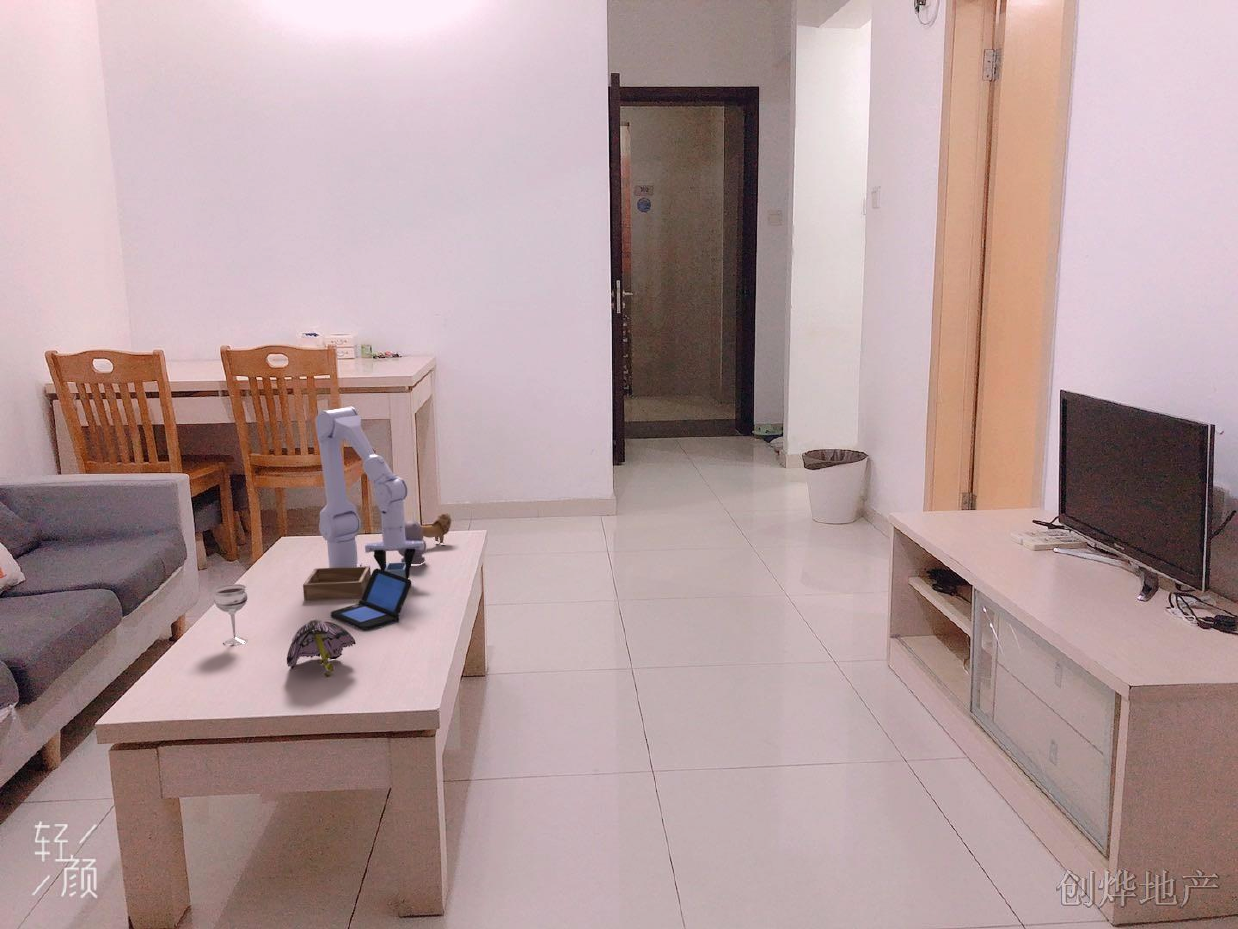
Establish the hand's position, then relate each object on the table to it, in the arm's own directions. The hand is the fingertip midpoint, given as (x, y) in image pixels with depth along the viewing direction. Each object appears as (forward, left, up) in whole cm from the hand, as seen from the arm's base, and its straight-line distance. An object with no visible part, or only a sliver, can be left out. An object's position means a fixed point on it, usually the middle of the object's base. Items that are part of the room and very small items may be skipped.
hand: (396, 577), depth 262 cm
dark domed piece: (+57, -8, -2) cm, 58 cm away
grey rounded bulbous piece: (-18, +2, -2) cm, 18 cm away
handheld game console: (+26, -3, -2) cm, 26 cm away
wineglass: (+38, -30, -2) cm, 48 cm away
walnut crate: (+4, -14, -1) cm, 15 cm away
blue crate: (0, 0, -1) cm, 1 cm away
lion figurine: (-36, +5, -2) cm, 36 cm away
